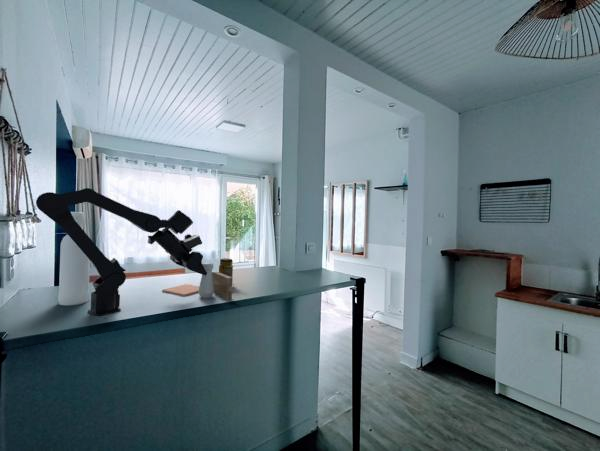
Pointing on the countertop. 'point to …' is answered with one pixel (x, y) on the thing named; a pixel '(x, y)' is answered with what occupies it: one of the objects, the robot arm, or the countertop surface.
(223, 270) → the condiment
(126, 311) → the countertop surface
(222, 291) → the walnut backboard
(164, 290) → the terracotta mat
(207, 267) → the salt shaker
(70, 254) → the bottle
